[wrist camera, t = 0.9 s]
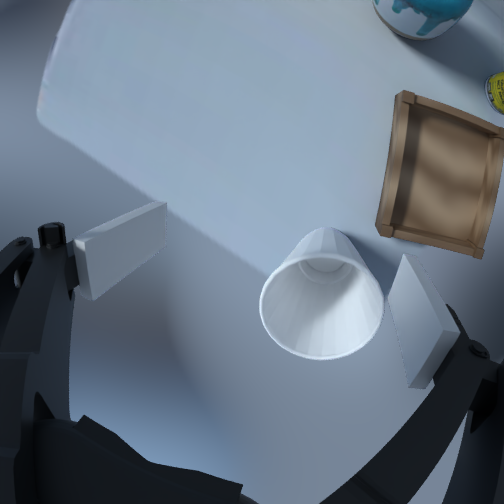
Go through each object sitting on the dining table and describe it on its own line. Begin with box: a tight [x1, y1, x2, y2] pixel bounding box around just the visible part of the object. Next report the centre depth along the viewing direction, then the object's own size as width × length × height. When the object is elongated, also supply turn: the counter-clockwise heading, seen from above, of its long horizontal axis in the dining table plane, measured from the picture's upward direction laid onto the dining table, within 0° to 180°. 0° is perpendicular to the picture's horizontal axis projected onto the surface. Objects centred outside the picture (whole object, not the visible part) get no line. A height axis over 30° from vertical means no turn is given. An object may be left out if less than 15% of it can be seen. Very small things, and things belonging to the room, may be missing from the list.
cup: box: [260, 227, 385, 360], centre depth 33 cm, size 12×12×16 cm
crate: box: [375, 90, 504, 259], centre depth 29 cm, size 18×16×5 cm
